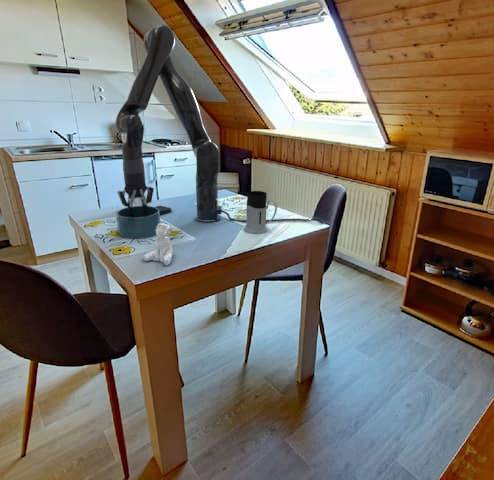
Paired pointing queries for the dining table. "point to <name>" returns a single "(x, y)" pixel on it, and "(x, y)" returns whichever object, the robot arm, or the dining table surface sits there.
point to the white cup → (138, 201)
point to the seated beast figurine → (161, 245)
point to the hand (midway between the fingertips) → (138, 214)
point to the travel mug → (257, 212)
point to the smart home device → (163, 209)
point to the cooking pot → (138, 222)
